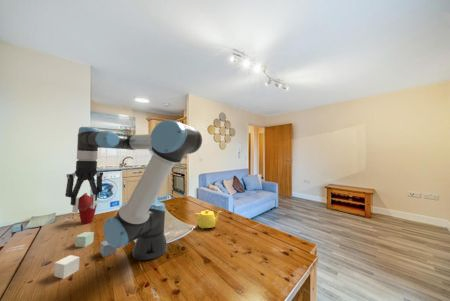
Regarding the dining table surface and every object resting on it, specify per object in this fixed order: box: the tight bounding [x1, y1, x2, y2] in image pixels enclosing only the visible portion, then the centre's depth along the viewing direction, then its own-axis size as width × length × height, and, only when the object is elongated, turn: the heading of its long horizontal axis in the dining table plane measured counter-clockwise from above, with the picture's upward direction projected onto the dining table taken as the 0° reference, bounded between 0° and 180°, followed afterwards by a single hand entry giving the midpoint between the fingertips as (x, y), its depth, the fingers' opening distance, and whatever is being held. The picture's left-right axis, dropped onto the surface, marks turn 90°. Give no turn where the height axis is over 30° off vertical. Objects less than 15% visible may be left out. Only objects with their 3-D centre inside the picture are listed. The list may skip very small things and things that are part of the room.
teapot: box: [194, 209, 222, 229], centre depth 109 cm, size 18×11×11 cm, turn 96°
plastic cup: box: [78, 202, 98, 225], centre depth 110 cm, size 11×11×12 cm
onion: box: [78, 192, 93, 211], centre depth 76 cm, size 6×6×8 cm
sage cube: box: [74, 231, 95, 248], centre depth 83 cm, size 5×5×5 cm
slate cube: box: [99, 240, 117, 258], centre depth 77 cm, size 5×5×5 cm
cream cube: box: [53, 254, 81, 280], centre depth 63 cm, size 5×5×5 cm
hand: (83, 209), depth 76 cm, fingers closed on onion, 6 cm apart
